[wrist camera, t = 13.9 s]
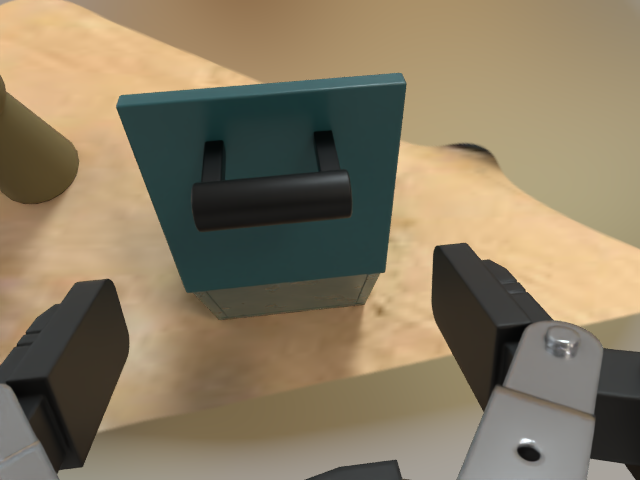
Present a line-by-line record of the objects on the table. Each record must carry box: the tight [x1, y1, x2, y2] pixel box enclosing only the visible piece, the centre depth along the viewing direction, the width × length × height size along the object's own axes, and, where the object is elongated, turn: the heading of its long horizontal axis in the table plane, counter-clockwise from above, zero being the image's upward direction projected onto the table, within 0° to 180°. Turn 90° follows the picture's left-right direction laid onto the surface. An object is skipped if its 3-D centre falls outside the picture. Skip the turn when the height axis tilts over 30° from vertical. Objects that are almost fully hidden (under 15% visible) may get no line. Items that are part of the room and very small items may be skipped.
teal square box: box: [193, 273, 380, 320], centre depth 31 cm, size 10×10×9 cm
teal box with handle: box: [116, 73, 406, 293], centre depth 19 cm, size 10×10×5 cm
